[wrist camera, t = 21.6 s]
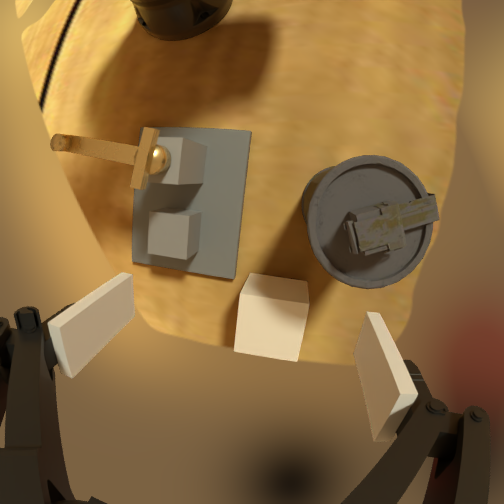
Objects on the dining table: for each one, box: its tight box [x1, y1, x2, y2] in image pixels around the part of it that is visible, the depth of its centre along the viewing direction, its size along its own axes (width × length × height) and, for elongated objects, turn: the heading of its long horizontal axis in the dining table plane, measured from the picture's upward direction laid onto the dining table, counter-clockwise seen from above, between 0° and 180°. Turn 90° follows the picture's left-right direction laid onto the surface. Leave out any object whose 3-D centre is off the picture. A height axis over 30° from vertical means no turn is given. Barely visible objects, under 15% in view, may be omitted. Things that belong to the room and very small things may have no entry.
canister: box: [302, 155, 439, 289], centre depth 28 cm, size 11×10×20 cm
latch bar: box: [50, 127, 171, 190], centre depth 28 cm, size 15×6×4 cm, turn 74°
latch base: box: [132, 127, 252, 279], centre depth 36 cm, size 20×16×10 cm
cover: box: [234, 273, 310, 362], centre depth 38 cm, size 8×8×8 cm
